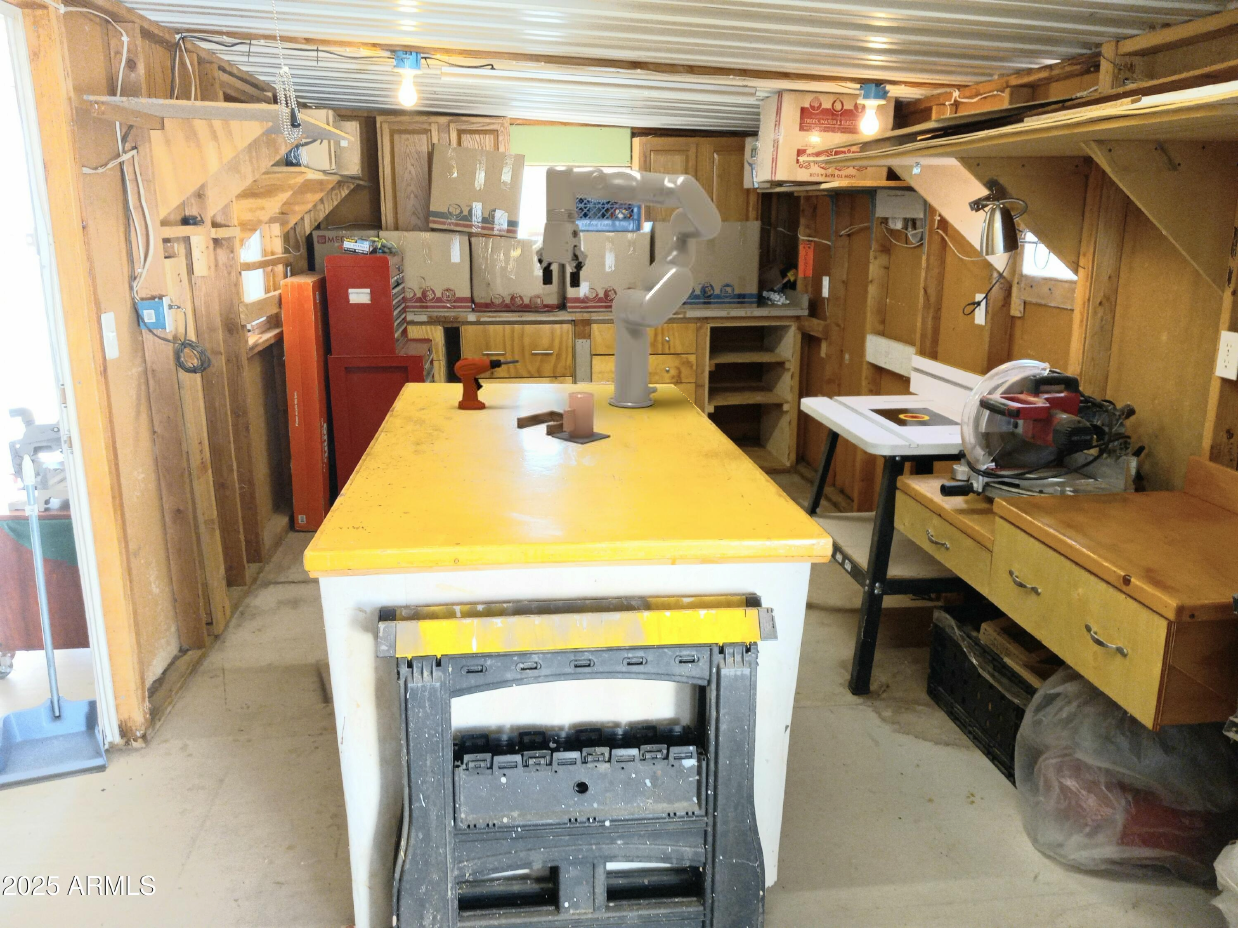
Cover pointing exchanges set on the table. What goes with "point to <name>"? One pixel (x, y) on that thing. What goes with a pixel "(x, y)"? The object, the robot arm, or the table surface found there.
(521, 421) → the brown wooden u-shaped piece
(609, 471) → the table surface
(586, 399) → the pink mug
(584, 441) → the mat
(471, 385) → the toy drill
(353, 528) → the table surface
